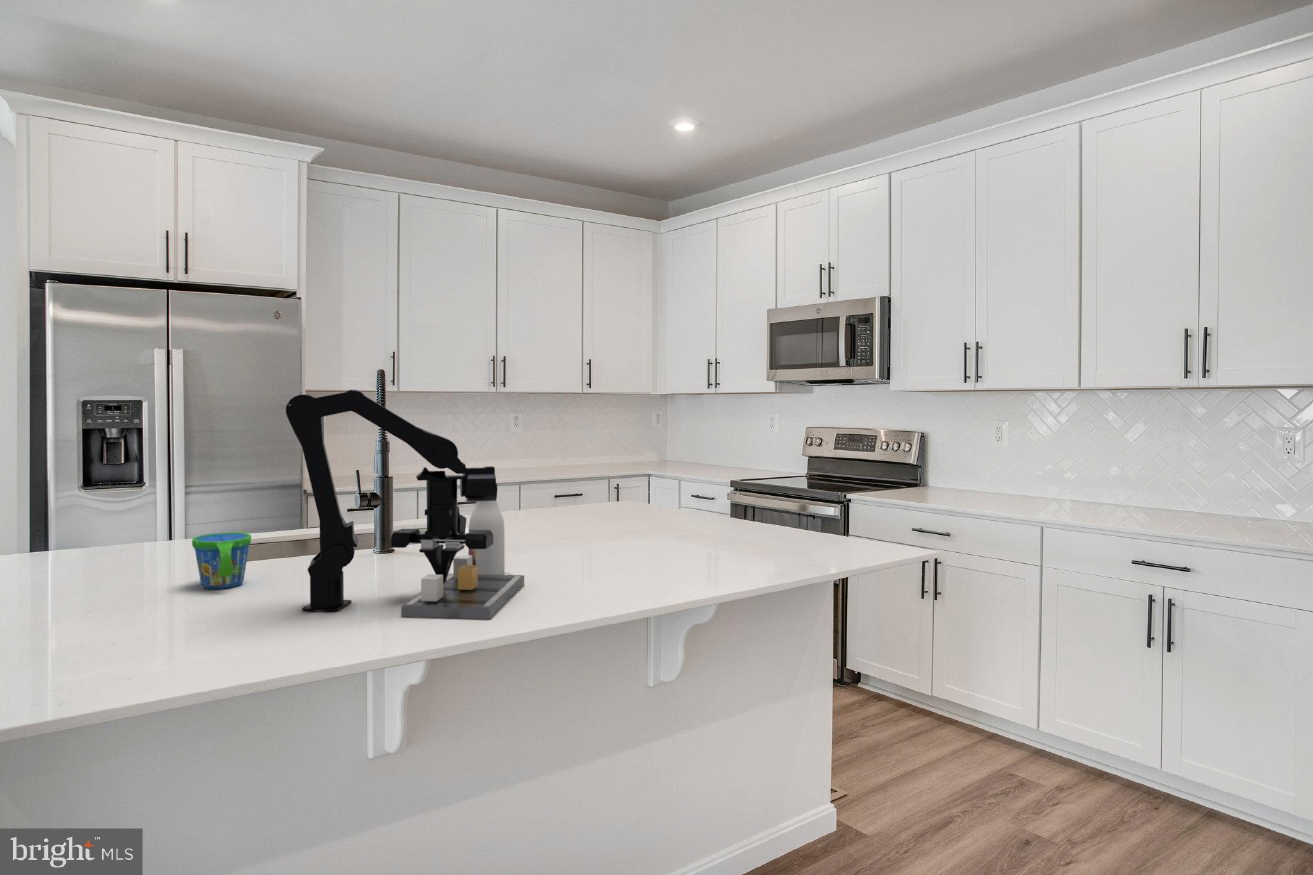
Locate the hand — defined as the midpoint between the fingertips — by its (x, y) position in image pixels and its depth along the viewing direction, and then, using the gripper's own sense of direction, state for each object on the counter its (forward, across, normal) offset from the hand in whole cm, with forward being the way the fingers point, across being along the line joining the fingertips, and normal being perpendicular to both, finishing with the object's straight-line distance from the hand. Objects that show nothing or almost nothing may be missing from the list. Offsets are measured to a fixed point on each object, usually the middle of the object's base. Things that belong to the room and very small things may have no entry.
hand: (442, 582), depth 150 cm
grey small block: (+1, -1, +9) cm, 9 cm away
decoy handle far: (+1, -1, -9) cm, 9 cm away
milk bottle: (+3, -3, -20) cm, 20 cm away
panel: (+3, -5, 0) cm, 6 cm away
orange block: (+1, -5, 0) cm, 5 cm away
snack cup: (+3, +48, -6) cm, 48 cm away
